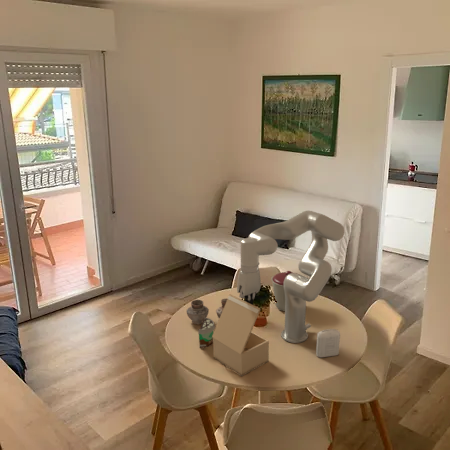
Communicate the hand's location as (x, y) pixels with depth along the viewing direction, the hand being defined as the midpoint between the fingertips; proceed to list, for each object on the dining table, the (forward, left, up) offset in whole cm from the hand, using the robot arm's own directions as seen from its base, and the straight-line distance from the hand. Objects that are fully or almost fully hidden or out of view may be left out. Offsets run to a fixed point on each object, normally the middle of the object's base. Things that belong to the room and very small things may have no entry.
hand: (249, 307), depth 200 cm
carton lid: (+8, 0, -5) cm, 9 cm away
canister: (-47, -19, -24) cm, 56 cm away
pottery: (-7, -35, -24) cm, 43 cm away
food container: (+7, -20, -24) cm, 32 cm away
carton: (+5, 0, -24) cm, 24 cm away
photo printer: (-26, +23, -24) cm, 42 cm away
